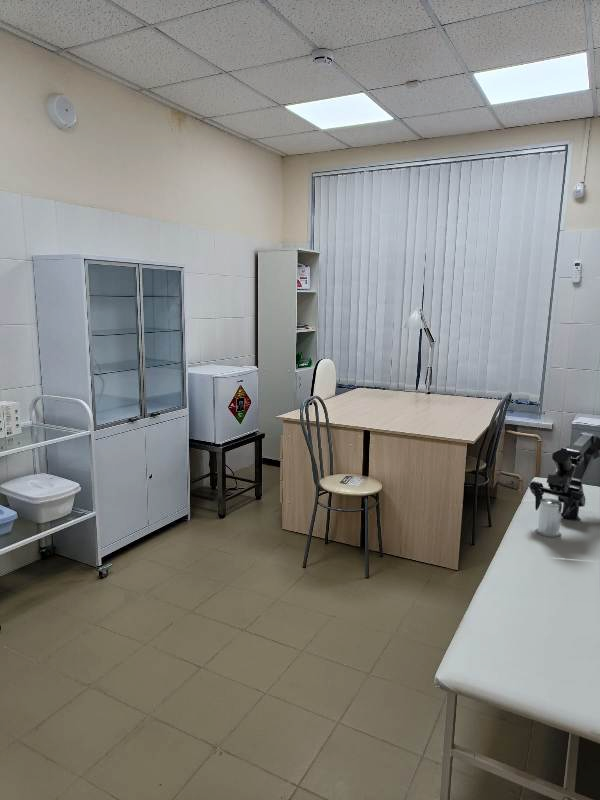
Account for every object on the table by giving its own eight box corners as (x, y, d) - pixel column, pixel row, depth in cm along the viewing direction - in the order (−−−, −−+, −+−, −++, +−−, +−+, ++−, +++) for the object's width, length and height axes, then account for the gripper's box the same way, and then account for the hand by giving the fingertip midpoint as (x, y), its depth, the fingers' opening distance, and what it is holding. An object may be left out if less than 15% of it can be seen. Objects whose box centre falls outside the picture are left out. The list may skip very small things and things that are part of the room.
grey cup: (538, 527, 208) (541, 497, 206) (558, 530, 205) (561, 500, 203) (537, 534, 202) (540, 503, 200) (558, 538, 199) (562, 506, 197)
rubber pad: (532, 528, 209) (532, 526, 209) (557, 530, 207) (557, 528, 207) (538, 538, 200) (538, 537, 200) (564, 540, 199) (564, 538, 198)
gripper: (533, 460, 208) (518, 495, 202) (586, 471, 195) (571, 509, 190) (539, 475, 215) (525, 510, 209) (591, 487, 202) (577, 524, 197)
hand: (548, 513), depth 201 cm, fingers open, 9 cm apart
